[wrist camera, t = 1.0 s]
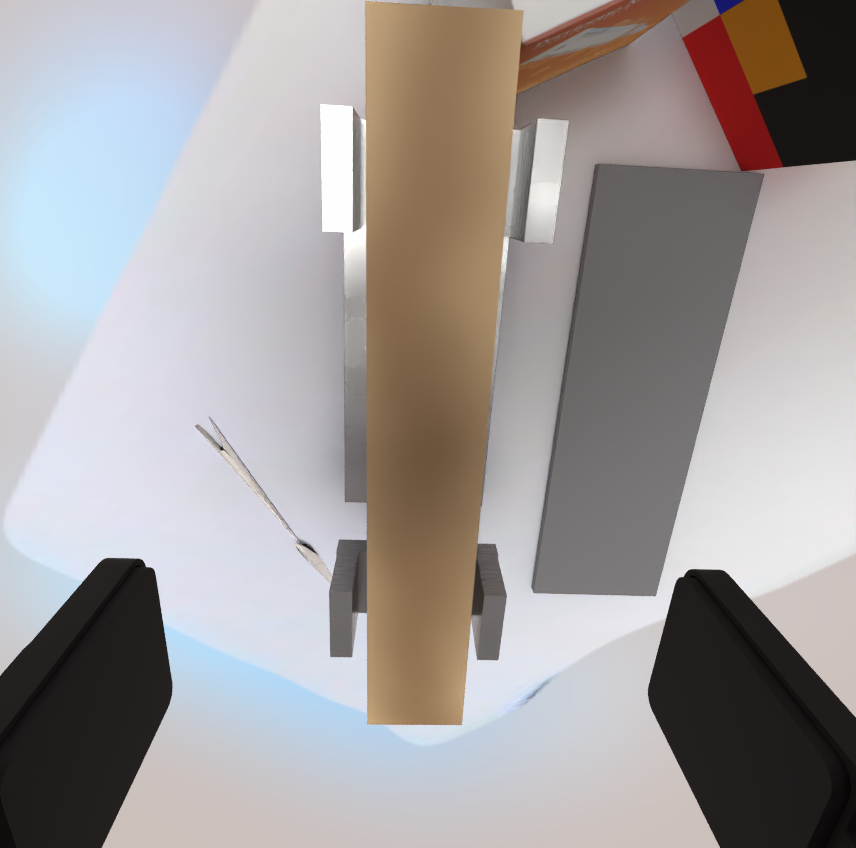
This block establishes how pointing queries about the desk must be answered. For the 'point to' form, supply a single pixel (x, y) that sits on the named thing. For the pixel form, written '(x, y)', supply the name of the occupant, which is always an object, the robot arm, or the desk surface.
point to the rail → (430, 335)
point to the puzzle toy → (777, 76)
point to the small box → (573, 30)
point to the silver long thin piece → (263, 497)
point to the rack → (346, 212)
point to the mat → (638, 370)
